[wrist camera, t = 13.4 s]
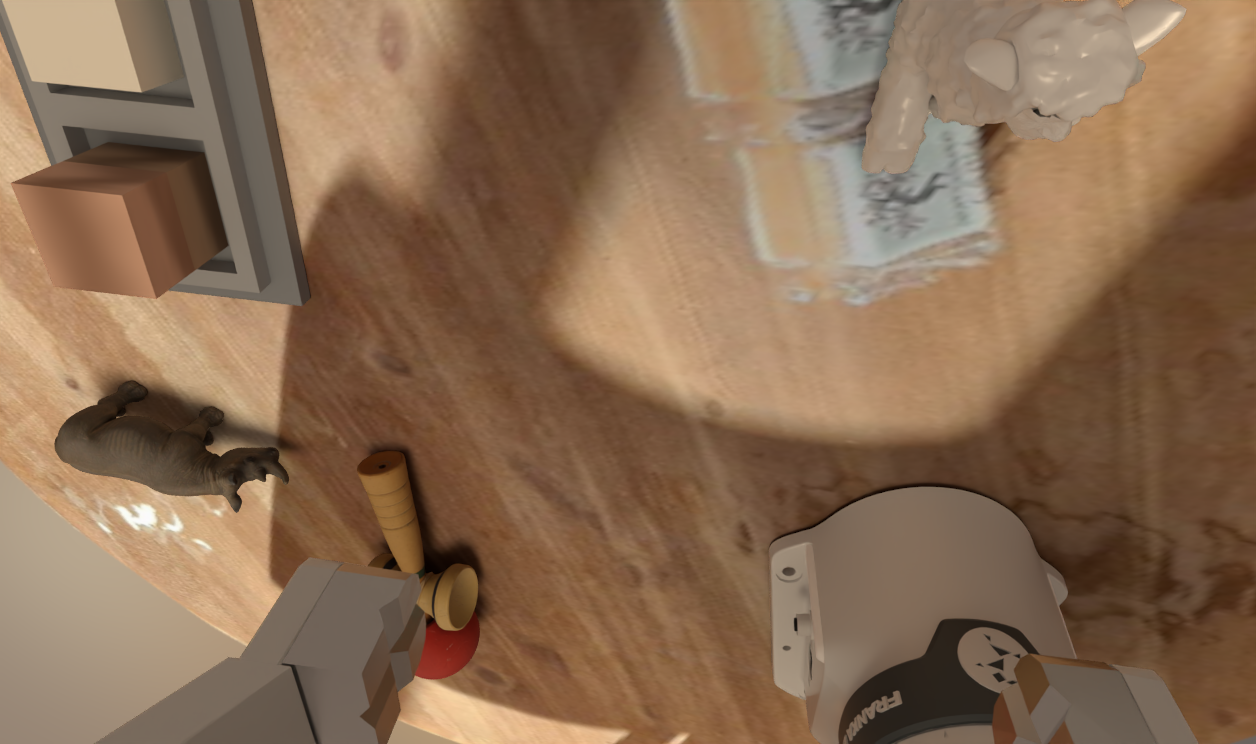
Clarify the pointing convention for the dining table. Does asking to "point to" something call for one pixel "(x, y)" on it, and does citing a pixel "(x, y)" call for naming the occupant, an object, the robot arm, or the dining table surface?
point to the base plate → (170, 115)
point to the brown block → (123, 218)
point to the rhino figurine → (160, 450)
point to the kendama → (422, 569)
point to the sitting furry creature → (1007, 67)
